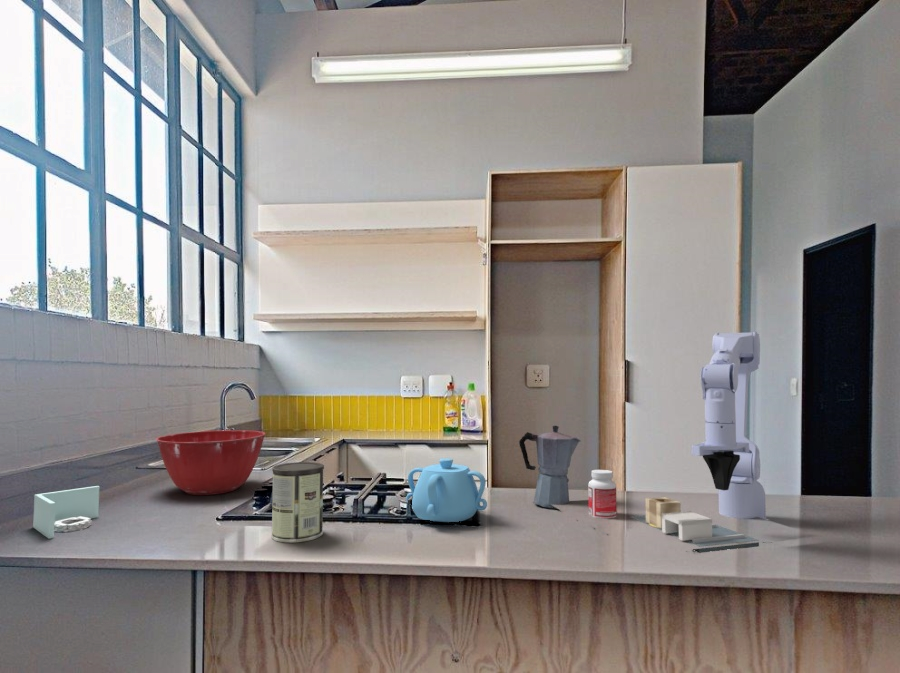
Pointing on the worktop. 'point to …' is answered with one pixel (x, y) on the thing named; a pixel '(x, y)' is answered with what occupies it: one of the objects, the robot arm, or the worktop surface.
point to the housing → (687, 525)
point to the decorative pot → (446, 492)
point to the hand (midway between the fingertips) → (721, 489)
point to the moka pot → (551, 465)
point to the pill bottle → (602, 495)
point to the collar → (660, 509)
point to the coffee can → (297, 502)
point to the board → (713, 538)
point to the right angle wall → (65, 510)
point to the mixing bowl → (210, 459)
